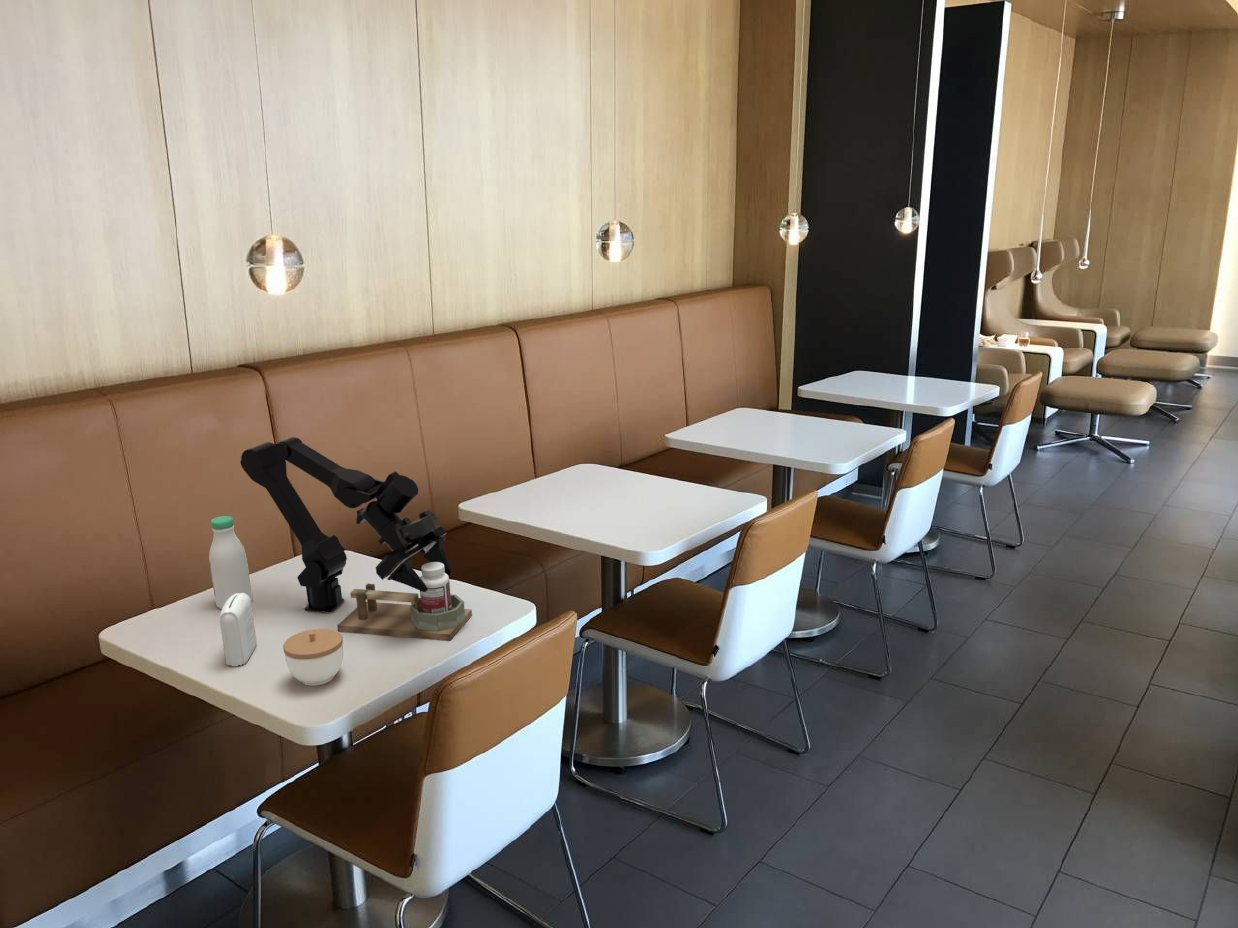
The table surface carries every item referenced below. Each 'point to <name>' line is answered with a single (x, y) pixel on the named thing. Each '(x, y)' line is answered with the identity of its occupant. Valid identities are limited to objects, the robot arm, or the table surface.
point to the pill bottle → (435, 589)
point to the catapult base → (390, 620)
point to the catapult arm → (417, 617)
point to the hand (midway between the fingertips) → (438, 582)
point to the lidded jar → (314, 655)
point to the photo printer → (237, 629)
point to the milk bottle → (228, 562)
